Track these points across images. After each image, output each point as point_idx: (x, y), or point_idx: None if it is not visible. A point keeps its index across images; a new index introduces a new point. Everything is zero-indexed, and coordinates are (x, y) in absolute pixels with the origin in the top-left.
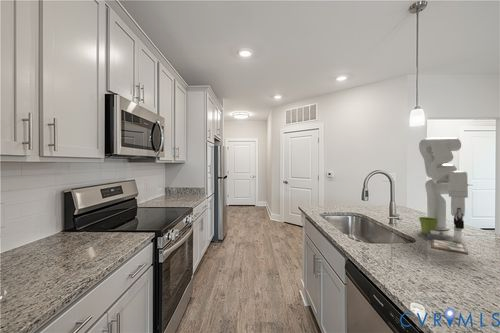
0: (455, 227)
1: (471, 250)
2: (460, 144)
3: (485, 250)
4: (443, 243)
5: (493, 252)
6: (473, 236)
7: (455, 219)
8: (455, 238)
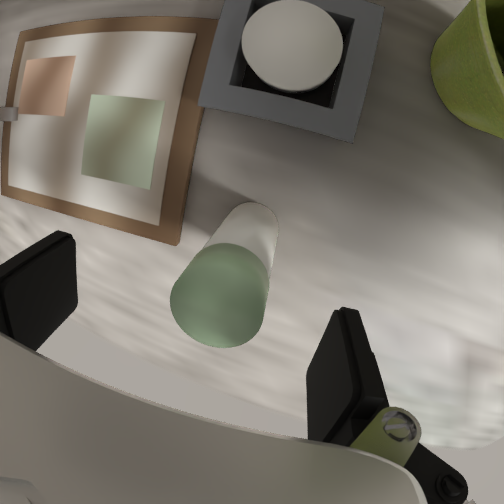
0: (58, 231)
1: None
2: None
3: (117, 315)
4: (98, 91)
5: (104, 334)
6: (444, 380)
7: (338, 383)
8: (231, 215)
